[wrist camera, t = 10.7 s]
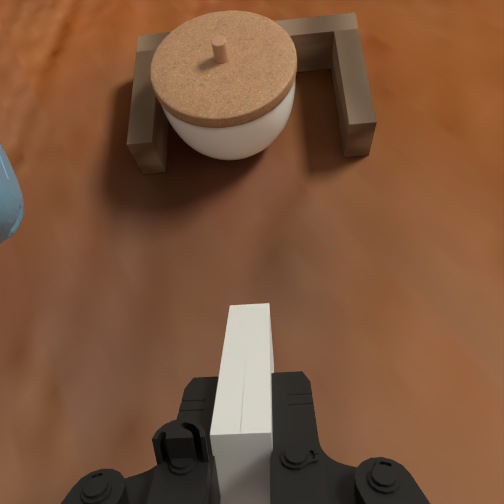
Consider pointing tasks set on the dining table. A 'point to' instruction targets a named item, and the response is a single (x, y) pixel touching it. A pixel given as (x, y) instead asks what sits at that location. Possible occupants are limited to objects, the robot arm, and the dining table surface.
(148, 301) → the dining table surface
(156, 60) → the lidded jar
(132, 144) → the u-shaped bracket
